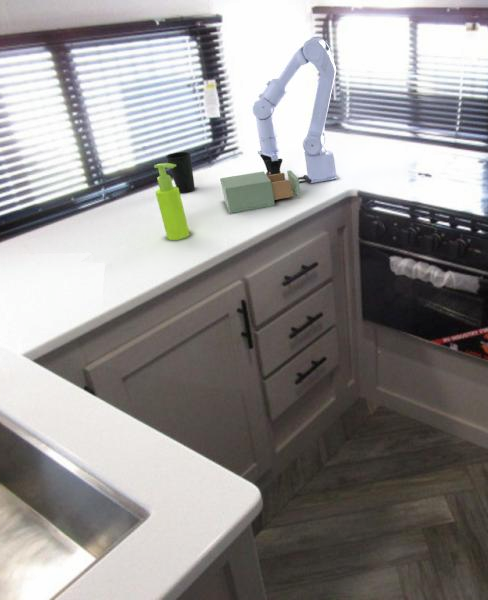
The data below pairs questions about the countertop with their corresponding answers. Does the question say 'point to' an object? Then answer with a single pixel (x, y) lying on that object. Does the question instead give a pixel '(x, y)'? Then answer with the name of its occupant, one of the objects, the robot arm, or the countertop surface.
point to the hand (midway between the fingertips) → (274, 176)
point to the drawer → (286, 185)
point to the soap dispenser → (171, 205)
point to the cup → (182, 171)
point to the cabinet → (247, 192)
